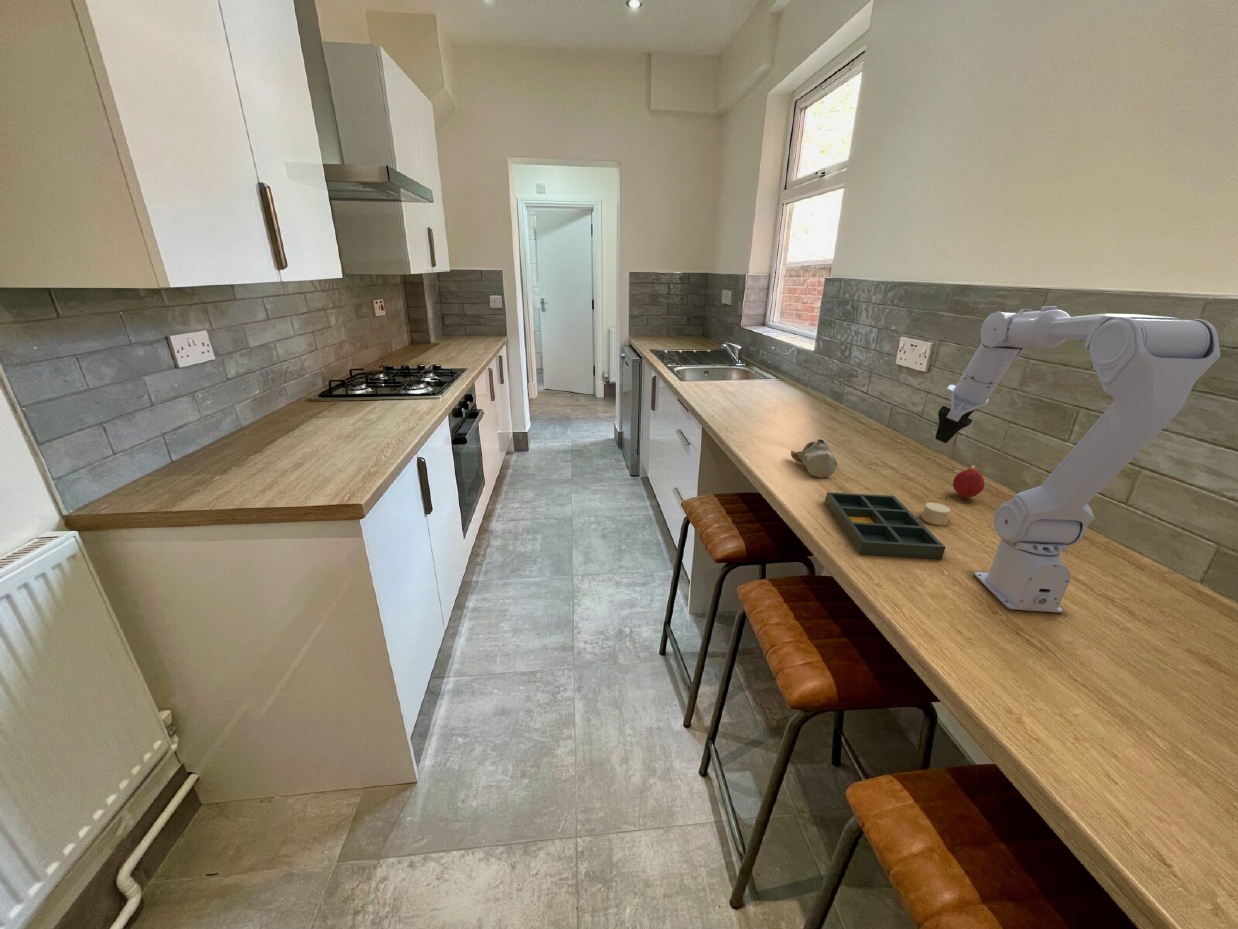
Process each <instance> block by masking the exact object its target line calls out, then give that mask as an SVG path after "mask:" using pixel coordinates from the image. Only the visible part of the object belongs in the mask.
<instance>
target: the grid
mask: <svg viewBox="0 0 1238 929" xmlns="http://www.w3.org/2000/svg"><path fill="white" fill-rule="evenodd" d="M824 504H825V505H826V507H827V508H828V510H829V511H830V513H831V514H832V515H833V517H834V519H835V520H836V521H837V523H838V524H839V526H840V527H841V529H842V530H843V532H844V533H845V535H846V536H847V537H848V539H849V541H851V543H852V545H853V546H854V548H855V549H856V550H857V552H858V554H860V555H864V556H865V555H866V556H882V557H884V556H885V557H899V558H915V559H917V558H918V559H931V560H932V559H933V560H943V557H944V554H945V551H946V546H945V545H944V544H943V543H942V542H941V541H940V539H938V538H937V537H936V536H935V534H934V533H932V532H931V531H930V530H929V529H928V528H927V527H926V526H925V525H924V524H923V523H922V522H921V521H920V519H918V518H917V517H916V515H914V514H913V512H911V511H910V510H909V509H908V508H907V507H906V506H905V505H904V504H903V503H902V502H901V501H900V500H899V499H898V497H896V496H895V495H887V494H870V493H869V494H867V493H851V492H850V493H849V492H830V491H829V492H828V491H827V492H826V495H825V500H824Z"/></svg>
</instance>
